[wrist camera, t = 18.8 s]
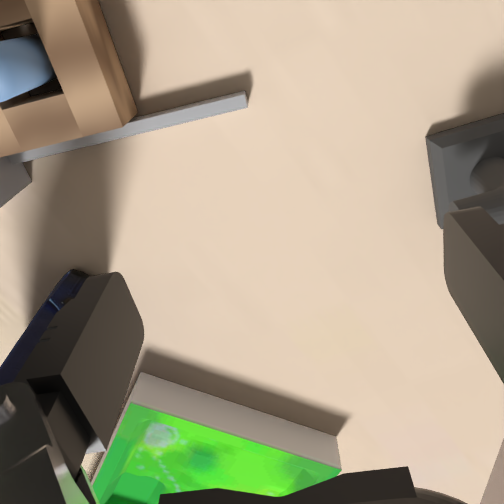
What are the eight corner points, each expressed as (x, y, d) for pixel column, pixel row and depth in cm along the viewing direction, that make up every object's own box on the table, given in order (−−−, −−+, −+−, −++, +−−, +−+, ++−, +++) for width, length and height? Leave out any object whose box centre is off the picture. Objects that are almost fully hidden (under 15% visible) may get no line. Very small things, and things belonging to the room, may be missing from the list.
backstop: (-122, -50, 32) (-198, -58, 26) (187, -151, 29) (170, -183, 23) (6, 187, 40) (-32, 216, 35) (254, 129, 37) (252, 151, 32)
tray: (335, 433, 56) (341, 470, 52) (252, 534, 68) (251, 571, 63) (141, 368, 52) (130, 402, 47) (87, 488, 63) (74, 525, 59)
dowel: (20, 39, 34) (-51, 53, 26) (59, 27, 34) (-2, 39, 26) (40, 82, 36) (-23, 108, 28) (77, 72, 35) (25, 95, 28)
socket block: (-61, -5, 33) (-105, -4, 29) (80, -48, 31) (54, -53, 27) (13, 143, 38) (-15, 161, 34) (137, 112, 36) (122, 127, 33)
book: (66, 258, 44) (-63, 434, 27) (118, 282, 45) (27, 465, 28) (24, 355, 50) (-102, 548, 33) (70, 373, 51) (-28, 568, 34)
